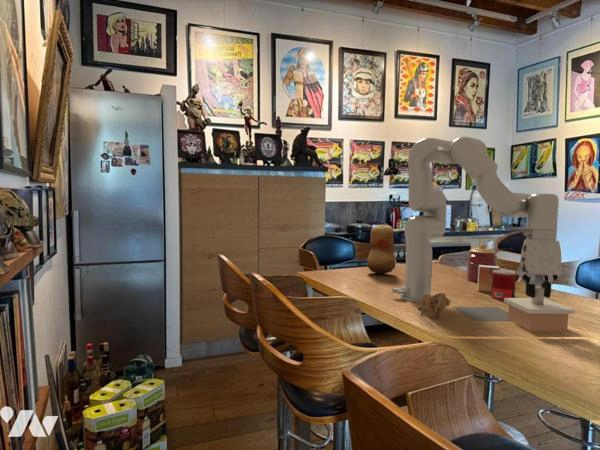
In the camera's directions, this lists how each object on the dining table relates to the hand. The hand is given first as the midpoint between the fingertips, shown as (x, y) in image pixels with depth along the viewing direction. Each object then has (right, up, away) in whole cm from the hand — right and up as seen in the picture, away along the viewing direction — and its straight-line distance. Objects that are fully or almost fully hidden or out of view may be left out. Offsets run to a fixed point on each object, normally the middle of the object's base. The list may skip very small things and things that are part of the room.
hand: (537, 296), depth 119 cm
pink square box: (0, -9, +1) cm, 9 cm away
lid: (0, -3, 0) cm, 3 cm away
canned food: (+7, -8, +34) cm, 35 cm away
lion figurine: (-28, -9, +9) cm, 31 cm away
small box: (+8, -7, +49) cm, 50 cm away
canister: (+15, -5, +71) cm, 73 cm away
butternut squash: (-30, -4, +82) cm, 88 cm away
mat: (-10, -8, +12) cm, 18 cm away
